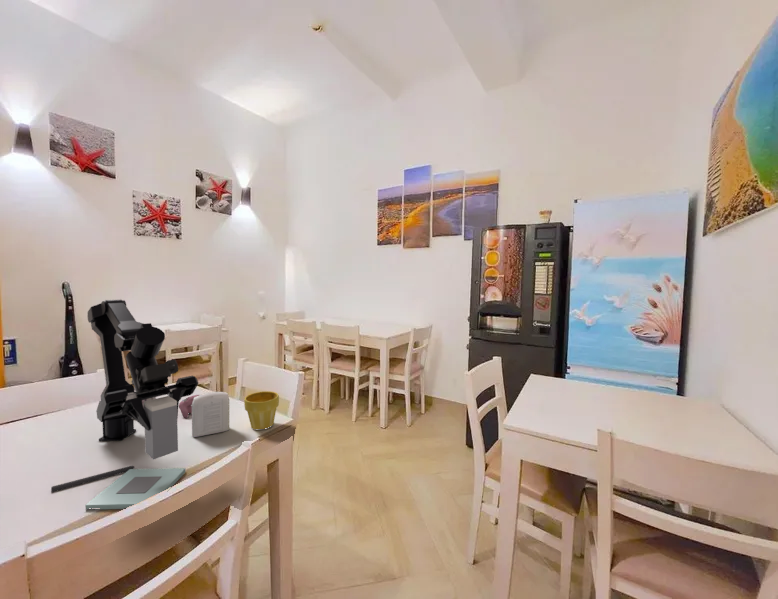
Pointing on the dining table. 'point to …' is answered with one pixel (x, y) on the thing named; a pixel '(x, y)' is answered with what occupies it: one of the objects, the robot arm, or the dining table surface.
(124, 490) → the teal flat square slab
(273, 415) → the plant pot
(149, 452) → the light grey rectangular block
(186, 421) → the dining table surface
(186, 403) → the video game controller
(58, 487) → the dark grey bar
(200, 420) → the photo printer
